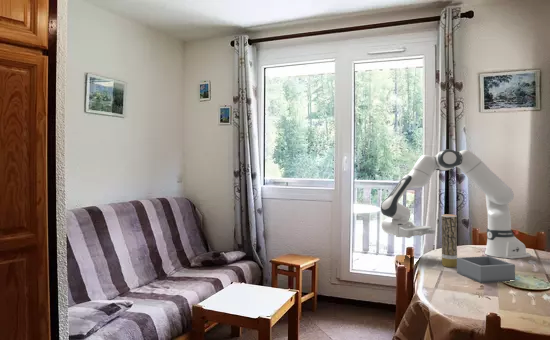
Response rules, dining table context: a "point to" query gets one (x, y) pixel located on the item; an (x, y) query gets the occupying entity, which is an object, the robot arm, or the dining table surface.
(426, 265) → the dining table surface
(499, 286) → the dining table surface
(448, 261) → the wooden log
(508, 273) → the box
